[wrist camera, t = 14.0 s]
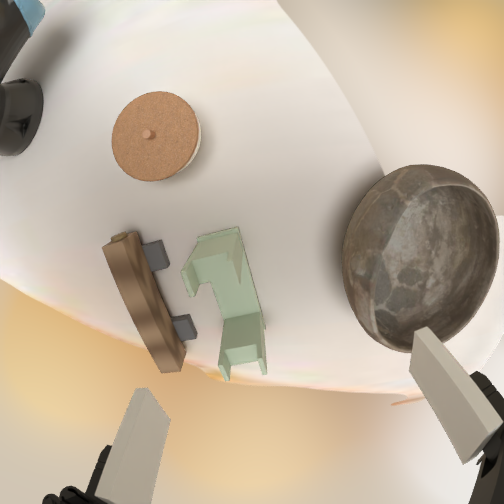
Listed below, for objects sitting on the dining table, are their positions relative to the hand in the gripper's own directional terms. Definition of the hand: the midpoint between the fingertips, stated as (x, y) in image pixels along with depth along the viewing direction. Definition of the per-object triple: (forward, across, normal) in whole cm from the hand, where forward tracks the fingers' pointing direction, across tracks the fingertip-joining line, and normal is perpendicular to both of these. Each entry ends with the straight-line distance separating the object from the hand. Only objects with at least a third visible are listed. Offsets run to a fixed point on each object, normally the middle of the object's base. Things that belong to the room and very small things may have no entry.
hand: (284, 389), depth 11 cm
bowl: (+29, +20, -6) cm, 36 cm away
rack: (+29, -6, -7) cm, 30 cm away
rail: (+27, -19, -6) cm, 34 cm away
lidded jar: (+29, -9, +16) cm, 34 cm away
